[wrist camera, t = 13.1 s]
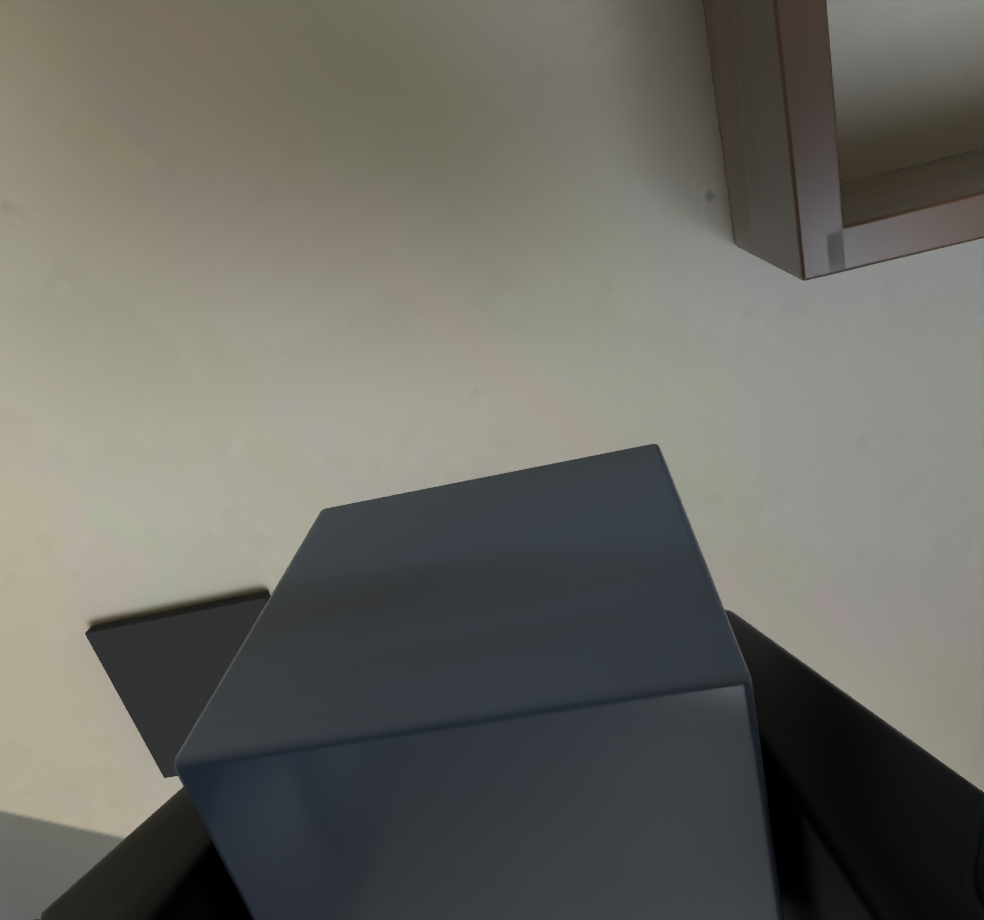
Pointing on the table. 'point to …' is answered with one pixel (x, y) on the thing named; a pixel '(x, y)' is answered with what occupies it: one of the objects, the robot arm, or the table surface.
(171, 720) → the mat
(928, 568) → the table surface
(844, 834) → the robot arm
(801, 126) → the cubby
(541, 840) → the block
